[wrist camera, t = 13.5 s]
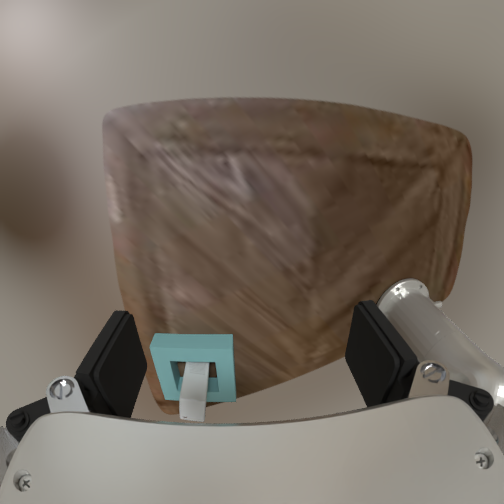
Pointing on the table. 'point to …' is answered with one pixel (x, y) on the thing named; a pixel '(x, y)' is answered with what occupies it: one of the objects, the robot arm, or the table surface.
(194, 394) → the skincare box
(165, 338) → the hollow square block
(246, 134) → the table surface
